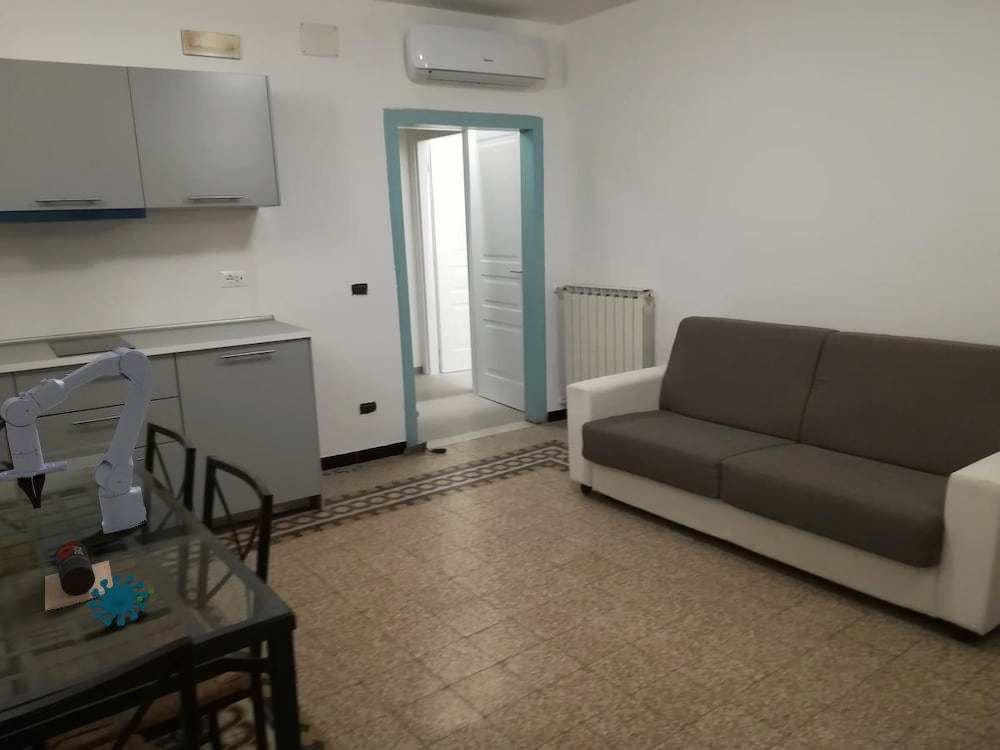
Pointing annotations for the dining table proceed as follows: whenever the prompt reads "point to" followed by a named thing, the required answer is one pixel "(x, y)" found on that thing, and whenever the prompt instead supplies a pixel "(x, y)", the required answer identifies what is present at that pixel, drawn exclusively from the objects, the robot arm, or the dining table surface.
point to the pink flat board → (60, 599)
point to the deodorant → (74, 568)
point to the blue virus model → (119, 600)
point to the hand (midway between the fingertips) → (37, 506)
